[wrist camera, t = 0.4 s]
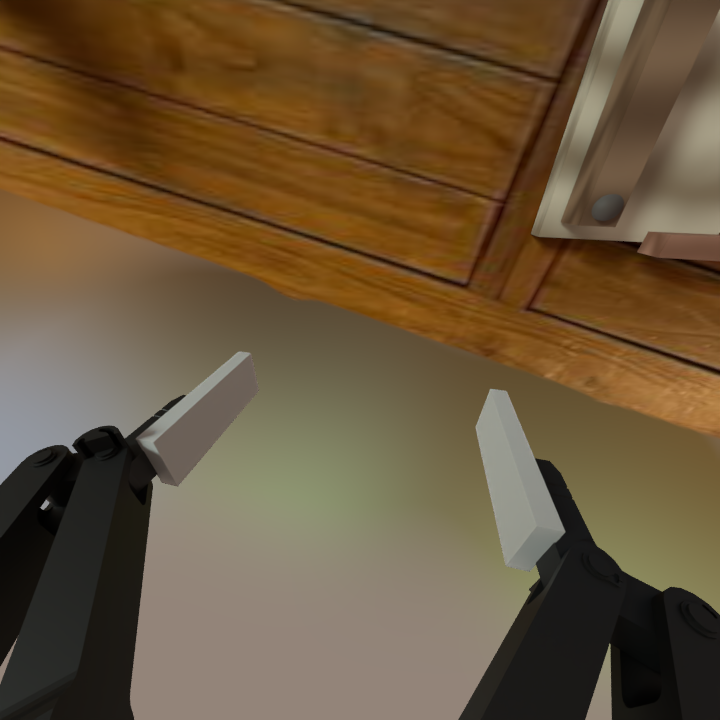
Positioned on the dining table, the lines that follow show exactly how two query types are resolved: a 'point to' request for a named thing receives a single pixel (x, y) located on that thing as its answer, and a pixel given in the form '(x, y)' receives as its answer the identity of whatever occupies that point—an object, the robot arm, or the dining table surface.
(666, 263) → the dining table surface
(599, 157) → the walnut leg
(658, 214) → the stool seat
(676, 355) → the dining table surface
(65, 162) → the dining table surface
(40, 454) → the robot arm
